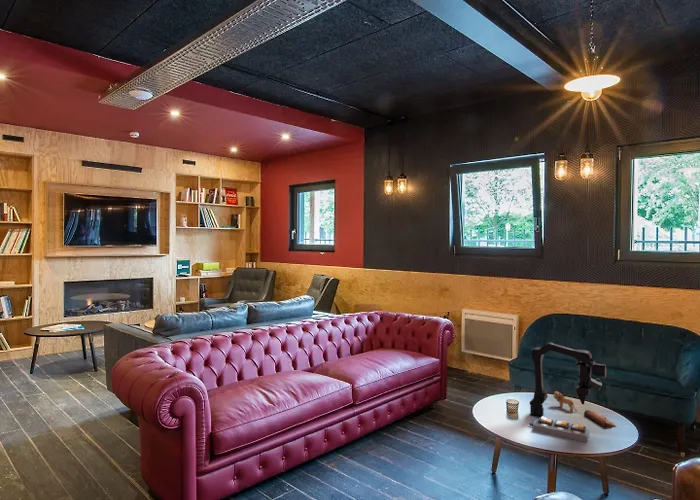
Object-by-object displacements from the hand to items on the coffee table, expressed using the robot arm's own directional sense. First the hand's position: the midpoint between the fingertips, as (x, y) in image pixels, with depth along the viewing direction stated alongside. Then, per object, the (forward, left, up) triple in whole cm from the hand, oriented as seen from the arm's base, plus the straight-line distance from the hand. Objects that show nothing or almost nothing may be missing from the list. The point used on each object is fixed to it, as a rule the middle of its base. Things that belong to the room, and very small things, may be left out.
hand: (583, 401), depth 250 cm
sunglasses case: (+7, +11, -14) cm, 20 cm away
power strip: (-10, -17, -14) cm, 24 cm away
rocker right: (-1, -15, -10) cm, 17 cm away
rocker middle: (-9, -15, -10) cm, 20 cm away
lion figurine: (-13, +21, -14) cm, 28 cm away
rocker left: (-17, -15, -10) cm, 24 cm away
